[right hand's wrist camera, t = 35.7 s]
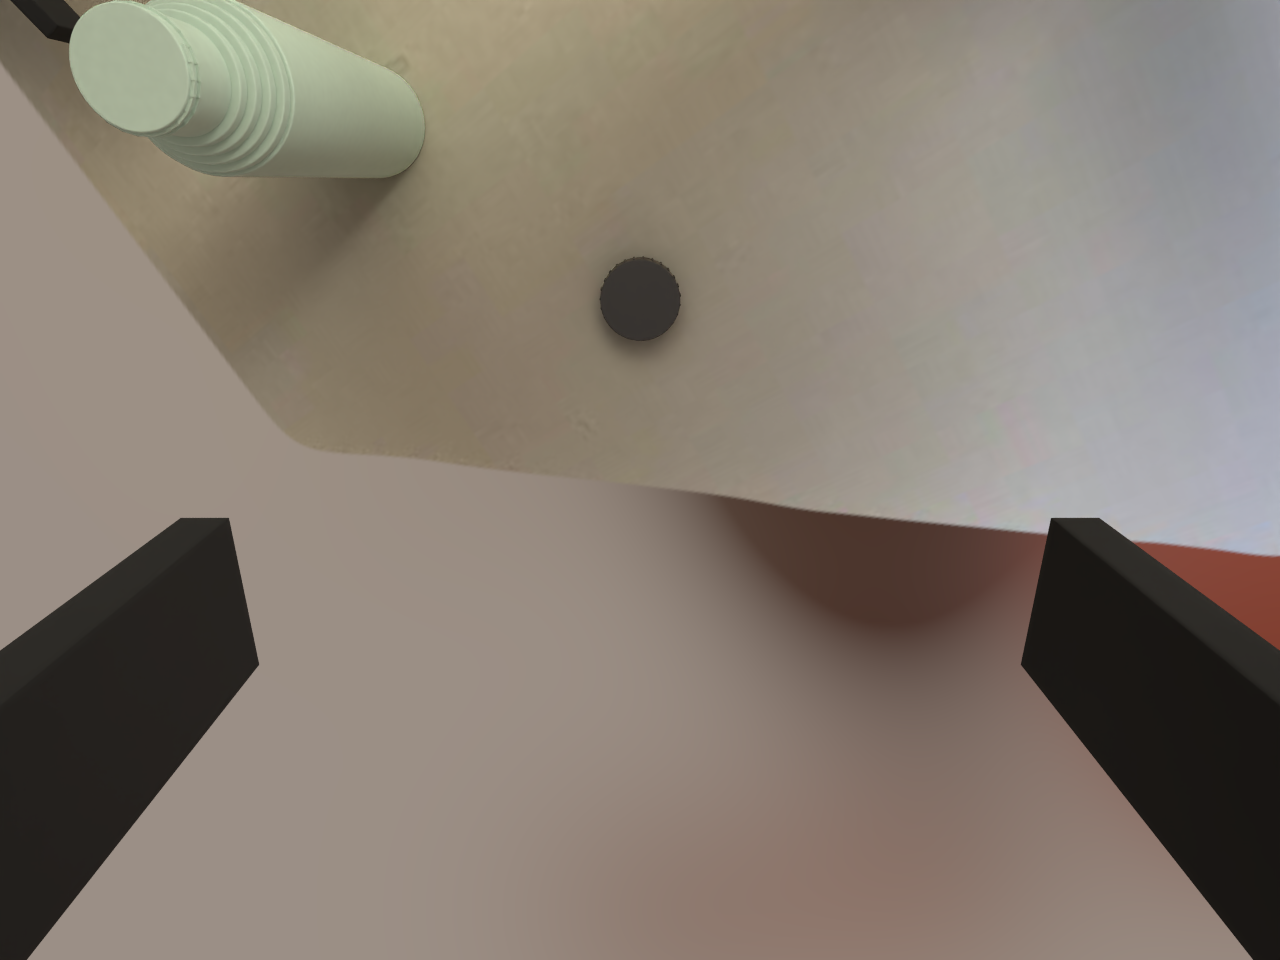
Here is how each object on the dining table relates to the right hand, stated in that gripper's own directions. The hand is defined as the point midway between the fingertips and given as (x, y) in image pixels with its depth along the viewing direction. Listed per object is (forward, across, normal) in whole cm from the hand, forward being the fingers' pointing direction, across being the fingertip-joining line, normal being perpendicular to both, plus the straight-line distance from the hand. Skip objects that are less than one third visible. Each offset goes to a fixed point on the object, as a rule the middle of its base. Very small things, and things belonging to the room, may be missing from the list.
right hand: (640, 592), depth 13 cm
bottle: (+35, +14, -9) cm, 39 cm away
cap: (+34, 0, 0) cm, 34 cm away
